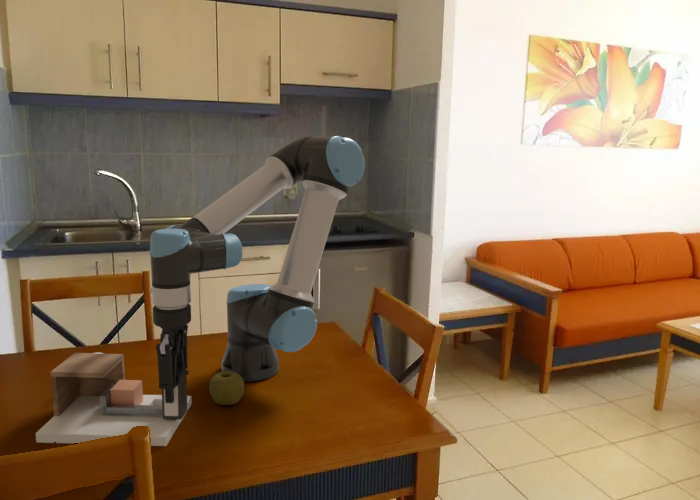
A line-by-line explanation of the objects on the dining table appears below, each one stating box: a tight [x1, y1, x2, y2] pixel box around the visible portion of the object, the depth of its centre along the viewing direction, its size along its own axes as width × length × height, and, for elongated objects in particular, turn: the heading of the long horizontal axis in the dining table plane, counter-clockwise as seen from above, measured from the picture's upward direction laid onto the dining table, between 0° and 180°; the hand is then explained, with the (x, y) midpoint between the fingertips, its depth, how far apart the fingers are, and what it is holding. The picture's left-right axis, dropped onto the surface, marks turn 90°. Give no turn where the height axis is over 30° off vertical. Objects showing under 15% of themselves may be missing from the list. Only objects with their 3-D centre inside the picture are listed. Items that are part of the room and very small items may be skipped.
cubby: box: [50, 352, 126, 417], centre depth 122 cm, size 11×10×10 cm
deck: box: [35, 394, 193, 447], centre depth 120 cm, size 26×18×2 cm
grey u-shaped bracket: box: [100, 367, 188, 420], centre depth 120 cm, size 18×8×10 cm, turn 90°
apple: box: [209, 371, 245, 406], centre depth 129 cm, size 8×8×7 cm
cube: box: [110, 379, 144, 405], centre depth 122 cm, size 5×5×5 cm
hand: (175, 409), depth 119 cm, fingers closed on grey u-shaped bracket, 4 cm apart
